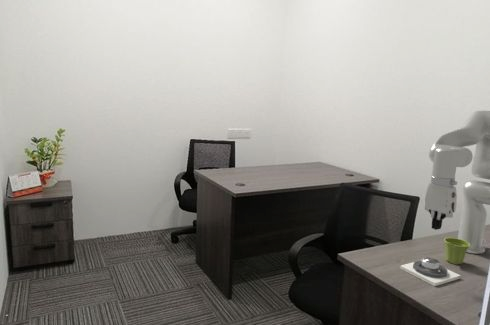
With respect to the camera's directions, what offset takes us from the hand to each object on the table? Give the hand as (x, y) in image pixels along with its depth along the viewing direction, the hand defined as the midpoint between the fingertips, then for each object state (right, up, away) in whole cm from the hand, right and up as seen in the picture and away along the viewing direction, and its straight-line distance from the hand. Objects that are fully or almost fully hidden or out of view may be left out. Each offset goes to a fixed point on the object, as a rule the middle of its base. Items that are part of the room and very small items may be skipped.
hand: (436, 228), depth 138 cm
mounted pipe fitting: (-1, -18, +3) cm, 18 cm away
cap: (-1, -17, +3) cm, 17 cm away
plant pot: (+15, -17, +15) cm, 27 cm away
